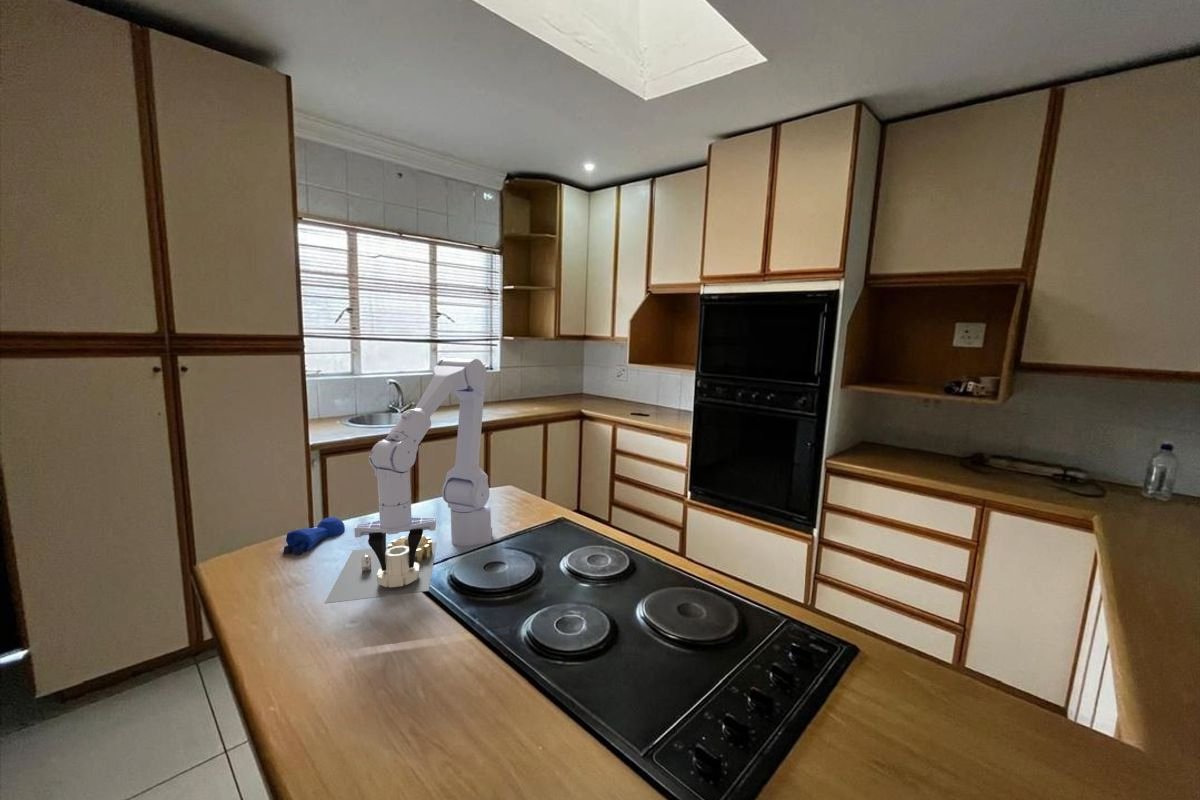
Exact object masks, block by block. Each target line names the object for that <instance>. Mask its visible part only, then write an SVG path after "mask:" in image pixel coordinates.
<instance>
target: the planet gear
mask: <svg viewBox="0 0 1200 800" xmlns="http://www.w3.org/2000/svg"><path fill="white" fill-rule="evenodd" d="M385 564H386V571H382V568H381V569H379V570H378V573H377V582H378V584H380V585H382V586H384V587H388V586H389V587H398V586H403V585H404V584H405V585H407V584H409V583H411V582H413V581H415V580H417V578H419V574H420V565H419V563H416V562H414V567H413V568H409V547H407V546H395V547H392V548H390V549H387V550H386V552H385Z"/></svg>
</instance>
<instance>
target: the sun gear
mask: <svg viewBox="0 0 1200 800" xmlns="http://www.w3.org/2000/svg"><path fill="white" fill-rule="evenodd" d="M432 543H433V540H432V538H431V537H430V536H426V535H424V534H422V537H421V540H420V542H419V544H418V547H417V550H416V553H415V560H414V562H416V563H422V560H424V559H425V560H428V559H429V558H430V555H432ZM395 546H407V547H409V544H408V536H404V535H403V536H401V537H399V538H398V539H393V540H391V543H390V544H389V543H388V545H387V547H388V549H390V548H392V547H395Z"/></svg>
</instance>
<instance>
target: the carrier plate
mask: <svg viewBox="0 0 1200 800" xmlns="http://www.w3.org/2000/svg"><path fill="white" fill-rule="evenodd" d="M436 548H437V542H432V555H430V558H429V559H428V560H425V559H424V560H422V563H419V565H420V574H419V578H417V580H415V581H413V582H411V583H409V584H407V585H405V584H404V585H403V586H398V587H389V586H388V587H384V586H382V585H380V584H378V582H377V573H378V570H379V569H381V565H380V562H379V560H378V557H377V555H376V554H375V552H374V551H373V549H372V548H371V547H370V548H363V549H353V550H352V551H351V553H350V555H349V556H348V559H347V560H346V562H345V564H344V566H343V568H342V569H341V571H340V573H339V576H337V579H336V581H335V582H334V584H333V587H332V588H331V590H330V592H329V594H328V596H327V598H326V600H325V602H324V604H330V603H339V602H340V603H341V602H346V601H348V602H349V601H356V600H362V599H363V600H365V599H371V598H380V597H388V596H389V597H390V596H398V595H405V594H406V595H407V594H414V593H422V592H424V593H425V592H429V591H430V586H431V585H430V584H431V579H432V573H433V567H434V561H435V555H436ZM387 549H388V546H386V550H387ZM365 555H369V556H370V557H371V569H372V571H371V572H369V573H362V564H361V559H362V557H363V556H365Z"/></svg>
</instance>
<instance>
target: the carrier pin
mask: <svg viewBox="0 0 1200 800" xmlns="http://www.w3.org/2000/svg"><path fill="white" fill-rule="evenodd" d="M361 564H362V573H369V572H371V571H372V569H371V557H370V556H369V555H365V556H363V557H362V559H361Z"/></svg>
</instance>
